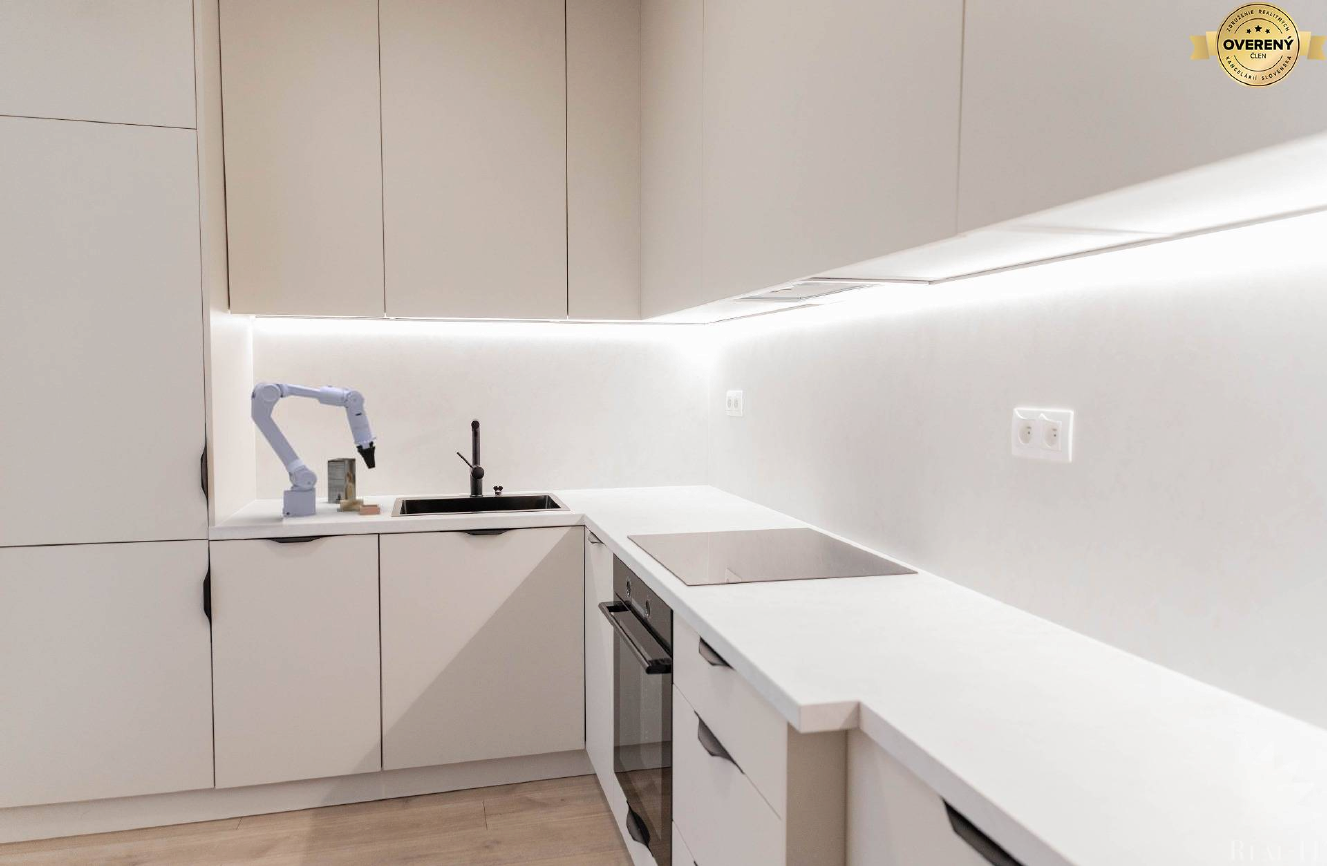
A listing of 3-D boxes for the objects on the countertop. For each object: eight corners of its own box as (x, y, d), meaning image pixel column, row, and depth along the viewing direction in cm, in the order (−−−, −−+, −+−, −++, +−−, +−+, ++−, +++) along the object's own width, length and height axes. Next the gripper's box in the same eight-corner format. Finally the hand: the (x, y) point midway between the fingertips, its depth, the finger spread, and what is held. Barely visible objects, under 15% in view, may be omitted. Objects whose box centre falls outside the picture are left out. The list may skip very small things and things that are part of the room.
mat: (337, 515, 262) (337, 511, 262) (336, 512, 269) (336, 508, 268) (367, 514, 266) (367, 510, 266) (365, 511, 272) (365, 507, 272)
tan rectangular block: (340, 511, 263) (340, 502, 263) (340, 508, 268) (340, 499, 268) (363, 510, 266) (363, 501, 266) (362, 508, 271) (362, 499, 271)
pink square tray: (360, 518, 257) (360, 507, 257) (359, 515, 263) (359, 504, 263) (380, 517, 260) (380, 507, 259) (378, 514, 265) (378, 504, 265)
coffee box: (338, 502, 288) (338, 457, 287) (356, 503, 288) (356, 458, 287) (327, 506, 279) (327, 460, 278) (345, 507, 279) (345, 460, 278)
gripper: (373, 426, 260) (385, 466, 263) (371, 420, 273) (381, 459, 276) (351, 431, 258) (362, 472, 260) (349, 426, 271) (360, 465, 274)
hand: (371, 466), depth 268 cm, fingers open, 7 cm apart
